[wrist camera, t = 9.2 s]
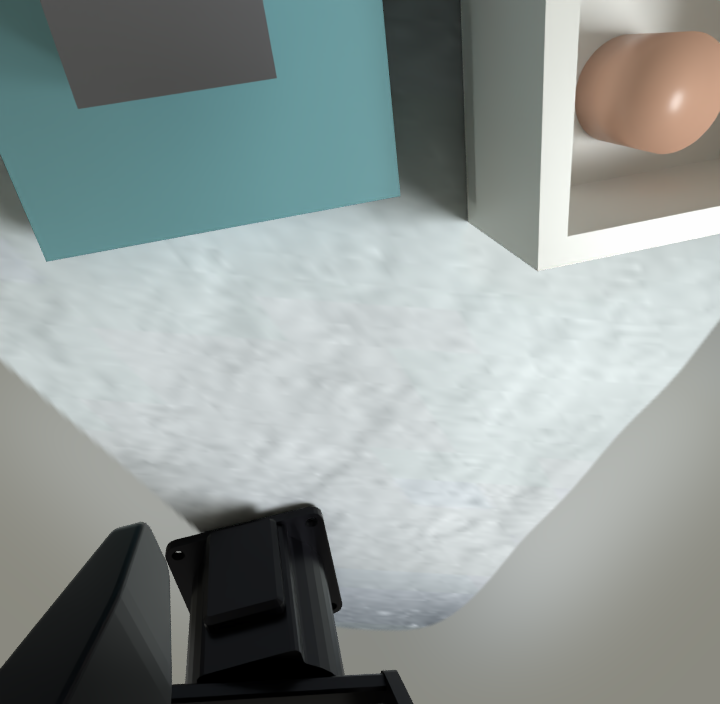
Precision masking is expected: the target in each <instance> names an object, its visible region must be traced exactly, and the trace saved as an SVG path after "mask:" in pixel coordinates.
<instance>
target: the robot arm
mask: <svg viewBox="0 0 720 704" xmlns="http://www.w3.org/2000/svg"><path fill="white" fill-rule="evenodd" d="M309 518H314V519H312V520H307V519H309ZM176 551H181V553H177V552H176ZM165 557H166V560H167V562H168V565H169V567H170V570H171V572H172V574H173V576H174V579H175V581H176V583H177V585H178V588H179V590H180V592H181V595H182V597H183V599H184V601H185V603H186V606H187V608H188V610H189V613H190V623H189V637H188V651H187V666H186V681H185V684H174V685H172V662H171V661H172V660H171V619H170V618H171V615H170V579H169V570H168V566H167V563H166V560H165V558H164V556H163V554H162V552H161V550H160V547H159V545H158V543H157V541H156V539H155V537H154V535H153V533H152V530H151V529H150V527H149V526H148V525H147V524H146V523H144V522H139V523H135V524H131V525H127V526H123V527H119V528H117V529H115V530H113V532H111V533H110V534H109V536H108V537H107V538H106V539H105V541H104V542H103V543H102V544H101V545H100V547H99V548H98V549H97V550H96V552H95V553H94V554H93V555H92V556H91V558H90V559H89V560H88V561H87V563H86V564H85V565H84V566H83V568H82V569H81V570H80V571H79V573H78V574H77V575H76V576H75V577H74V579H73V580H72V581H71V582H70V584H69V585H68V586H67V587H66V589H65V590H64V591H63V592H62V593H61V595H60V596H59V597H58V598H57V600H56V601H55V602H54V603H53V605H52V606H51V607H50V608H49V609H48V611H47V612H46V613H45V614H44V615H43V617H42V618H41V619H40V620H39V622H38V623H37V624H36V625H35V627H34V628H33V629H32V630H31V631H30V633H29V634H28V635H27V637H26V638H25V639H24V640H23V641H22V643H21V644H20V645H19V646H18V647H17V649H16V650H15V651H14V652H13V654H12V655H11V656H10V657H9V659H8V660H7V661H6V662H5V664H4V665H3V666H2V667H1V668H0V704H413V702H412V700H411V698H410V696H409V694H408V692H407V690H406V688H405V686H404V684H403V682H402V680H401V678H400V676H399V674H398V672H397V670H388V671H387V670H386V671H381V673H380V674H363V675H344V669H343V664H342V659H341V654H340V648H339V642H338V637H337V632H336V626H335V621H334V616H333V613H336V612H338V611H339V610H340V609H341V607H342V601H341V596H340V591H339V587H338V582H337V578H336V573H335V569H334V565H333V560H332V556H331V551H330V547H329V542H328V538H327V533H326V529H325V525H324V520H323V516H322V512H321V510H320V509H319V508H317V507H306V508H302V509H298V510H294V511H290V512H286V513H282V514H278V515H274V516H270V517H266V518H262V519H258V520H254V521H249V522H245V523H241V524H237V525H233V526H229V527H225V528H221V529H217V530H213V531H209V532H205V533H201V534H197V535H193V536H189V537H185V538H181V539H177V540H174V541H171V542H170V543H169V544H168V545H167V548H166V555H165Z"/></svg>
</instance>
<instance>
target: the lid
mask: <svg viewBox="0 0 720 704" xmlns="http://www.w3.org/2000/svg"><path fill="white" fill-rule="evenodd" d="M0 155H1V157H2V159H3V162H4V164H5V166H6V169H7V171H8V173H9V176H10V178H11V180H12V183H13V185H14V187H15V190H16V192H17V194H18V197H19V199H20V201H21V204H22V206H23V208H24V211H25V213H26V215H27V218H28V220H29V222H30V225H31V227H32V229H33V231H34V234H35V236H36V238H37V241H38V243H39V245H40V248H41V250H42V252H43V255H44V257H45V259H46V262H47V261H53V260H58V259H63V258H69V257H74V256H79V255H85V254H90V253H96V252H101V251H106V250H112V249H117V248H123V247H128V246H133V245H139V244H144V243H150V242H155V241H160V240H166V239H171V238H177V237H182V236H187V235H193V234H198V233H204V232H209V231H214V230H220V229H225V228H231V227H236V226H241V225H247V224H252V223H258V222H263V221H268V220H274V219H279V218H285V217H290V216H295V215H301V214H306V213H312V212H317V211H322V210H328V209H333V208H339V207H344V206H349V205H355V204H360V203H366V202H371V201H376V200H382V199H387V198H393V197H398V196H400V186H399V175H398V165H397V154H396V143H395V132H394V122H393V111H392V100H391V89H390V79H389V68H388V57H387V47H386V36H385V25H384V14H383V4H382V0H0Z"/></svg>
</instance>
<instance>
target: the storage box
mask: <svg viewBox="0 0 720 704" xmlns="http://www.w3.org/2000/svg"><path fill="white" fill-rule="evenodd" d="M460 2H461V31H462V60H463V90H464V119H465V148H466V178H467V207H468V222H469V223H470V224H472V225H473V226H474V227H476V228H477V229H479V230H480V231H481V232H483V233H484V234H486V235H487V236H489V237H490V238H491V239H493V240H494V241H496V242H497V243H498V244H500V245H501V246H503V247H504V248H506V249H507V250H508V251H510V252H511V253H513V254H514V255H515V256H517V257H518V258H520V259H521V260H522V261H524V262H525V263H527V264H528V265H530V266H531V267H532V268H534V269H535V270H537V271H542V270H546V269H551V268H556V267H561V266H566V265H570V264H575V263H580V262H585V261H590V260H595V259H599V258H604V257H609V256H614V255H619V254H624V253H628V252H633V251H638V250H643V249H648V248H653V247H657V246H662V245H667V244H672V243H677V242H682V241H686V240H691V239H696V238H701V237H706V236H710V235H715V234H720V0H460Z"/></svg>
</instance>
